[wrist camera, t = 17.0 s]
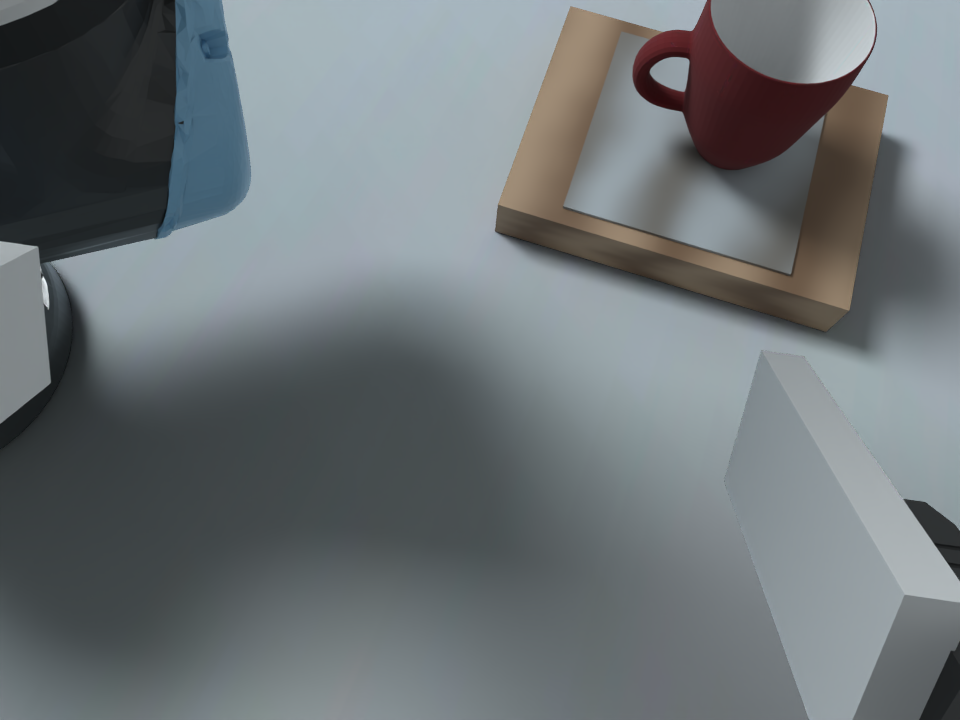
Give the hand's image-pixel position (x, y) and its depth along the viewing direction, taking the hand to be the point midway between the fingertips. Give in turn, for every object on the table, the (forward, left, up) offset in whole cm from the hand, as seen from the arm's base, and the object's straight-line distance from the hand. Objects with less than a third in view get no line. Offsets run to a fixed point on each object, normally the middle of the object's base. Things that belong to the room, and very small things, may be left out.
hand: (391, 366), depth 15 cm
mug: (+8, +28, -27) cm, 39 cm away
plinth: (+7, +27, -30) cm, 41 cm away
